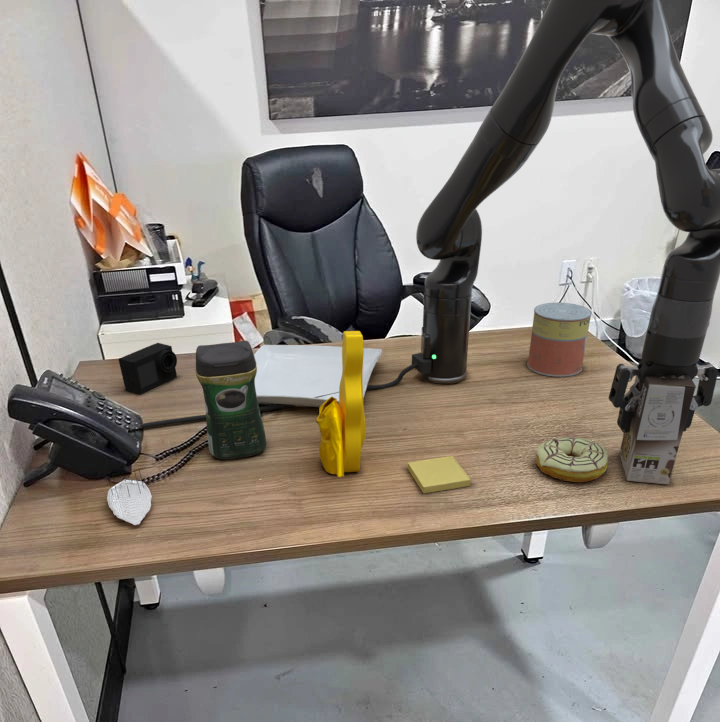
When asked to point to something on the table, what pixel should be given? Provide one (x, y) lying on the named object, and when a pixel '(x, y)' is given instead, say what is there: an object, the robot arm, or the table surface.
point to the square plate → (303, 373)
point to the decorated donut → (572, 459)
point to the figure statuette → (344, 413)
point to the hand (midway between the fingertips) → (651, 430)
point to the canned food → (558, 339)
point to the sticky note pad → (438, 474)
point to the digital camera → (148, 368)
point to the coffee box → (656, 428)
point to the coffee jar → (230, 399)
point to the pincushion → (130, 500)
